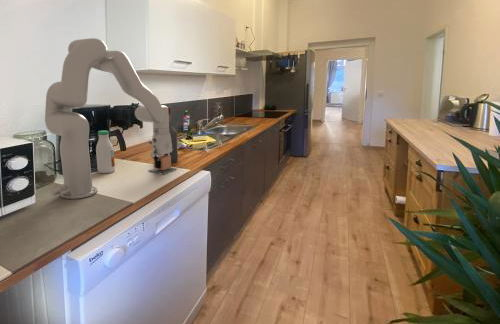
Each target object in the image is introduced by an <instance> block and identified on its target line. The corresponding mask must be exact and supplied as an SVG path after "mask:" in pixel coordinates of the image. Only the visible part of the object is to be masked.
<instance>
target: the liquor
mask: <svg viewBox="0 0 500 324" xmlns="http://www.w3.org/2000/svg"><path fill="white" fill-rule="evenodd" d="M168 112H169V133H170V135H171V141H172V149H173V150H172V152H171V155H170V156H171V164H172V163H176V162H178V161H179V150H178V148H179V147H178V146H179V145H178V144H179V143H178V132H177V130H176V129H175V127H173V126H172V123H171V107H168Z"/></svg>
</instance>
